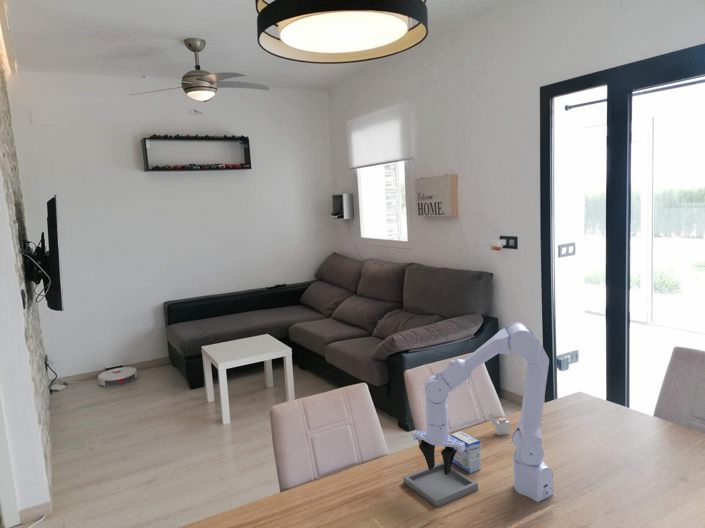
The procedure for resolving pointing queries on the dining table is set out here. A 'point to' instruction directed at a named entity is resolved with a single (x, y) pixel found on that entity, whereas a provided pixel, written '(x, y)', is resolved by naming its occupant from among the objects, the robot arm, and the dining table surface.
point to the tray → (440, 484)
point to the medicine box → (468, 453)
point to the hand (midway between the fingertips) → (439, 470)
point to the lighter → (500, 425)
